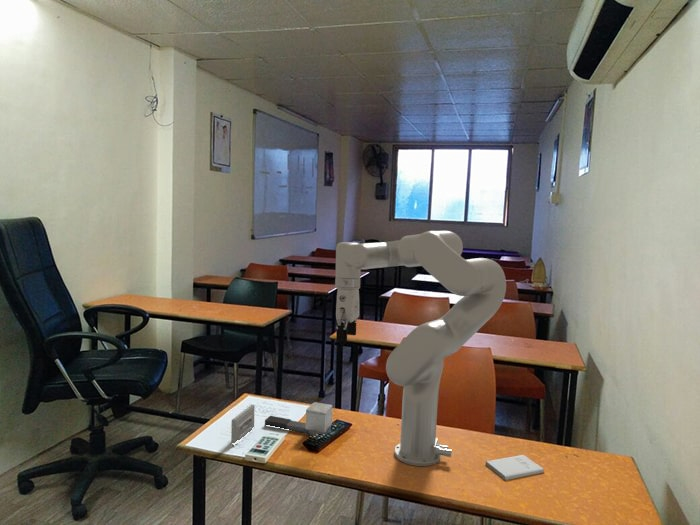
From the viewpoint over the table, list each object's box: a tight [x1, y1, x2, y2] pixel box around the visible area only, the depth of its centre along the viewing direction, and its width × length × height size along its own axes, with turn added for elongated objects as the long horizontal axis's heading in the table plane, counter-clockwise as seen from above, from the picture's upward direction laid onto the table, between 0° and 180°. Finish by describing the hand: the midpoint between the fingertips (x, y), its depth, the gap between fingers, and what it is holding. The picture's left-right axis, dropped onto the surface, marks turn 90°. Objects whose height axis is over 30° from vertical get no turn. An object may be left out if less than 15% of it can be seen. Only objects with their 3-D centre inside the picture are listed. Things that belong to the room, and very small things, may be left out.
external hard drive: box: [485, 454, 545, 481], centre depth 131 cm, size 2×8×12 cm
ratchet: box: [264, 415, 331, 438], centre depth 149 cm, size 20×7×6 cm, turn 71°
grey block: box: [305, 401, 333, 433], centre depth 147 cm, size 6×6×6 cm
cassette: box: [230, 404, 255, 444], centre depth 143 cm, size 12×2×8 cm, turn 163°
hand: (346, 338), depth 151 cm, fingers open, 9 cm apart
